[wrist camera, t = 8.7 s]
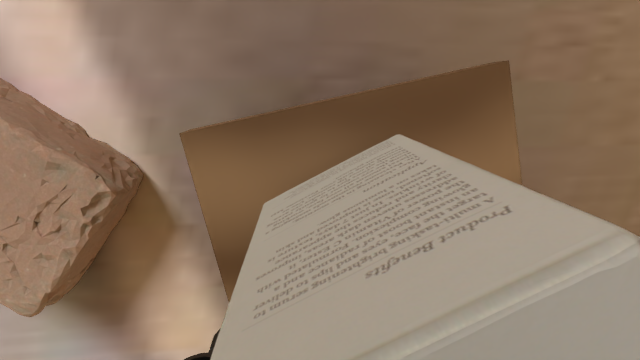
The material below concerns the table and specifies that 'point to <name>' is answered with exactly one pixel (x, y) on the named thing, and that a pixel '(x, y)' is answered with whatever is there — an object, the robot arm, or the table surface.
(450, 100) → the brown flat-topped fixture
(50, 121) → the brick
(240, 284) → the small box
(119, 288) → the table surface
